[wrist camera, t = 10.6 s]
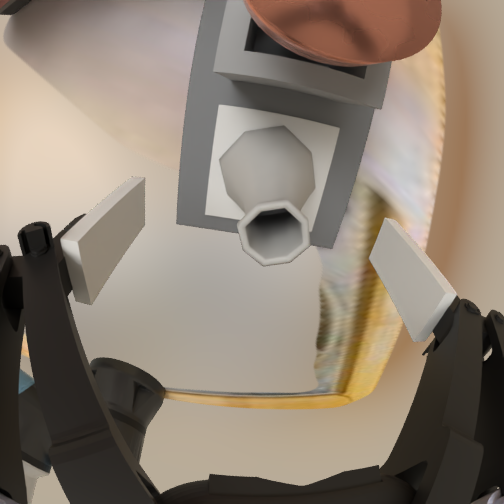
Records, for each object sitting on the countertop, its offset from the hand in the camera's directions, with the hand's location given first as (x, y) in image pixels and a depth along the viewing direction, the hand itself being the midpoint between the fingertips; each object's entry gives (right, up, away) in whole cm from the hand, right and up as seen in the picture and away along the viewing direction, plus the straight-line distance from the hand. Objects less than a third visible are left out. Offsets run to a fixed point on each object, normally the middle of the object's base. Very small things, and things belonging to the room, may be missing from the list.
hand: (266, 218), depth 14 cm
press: (+1, +10, +6) cm, 11 cm away
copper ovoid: (+2, +11, -3) cm, 11 cm away
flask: (0, +4, +6) cm, 8 cm away
